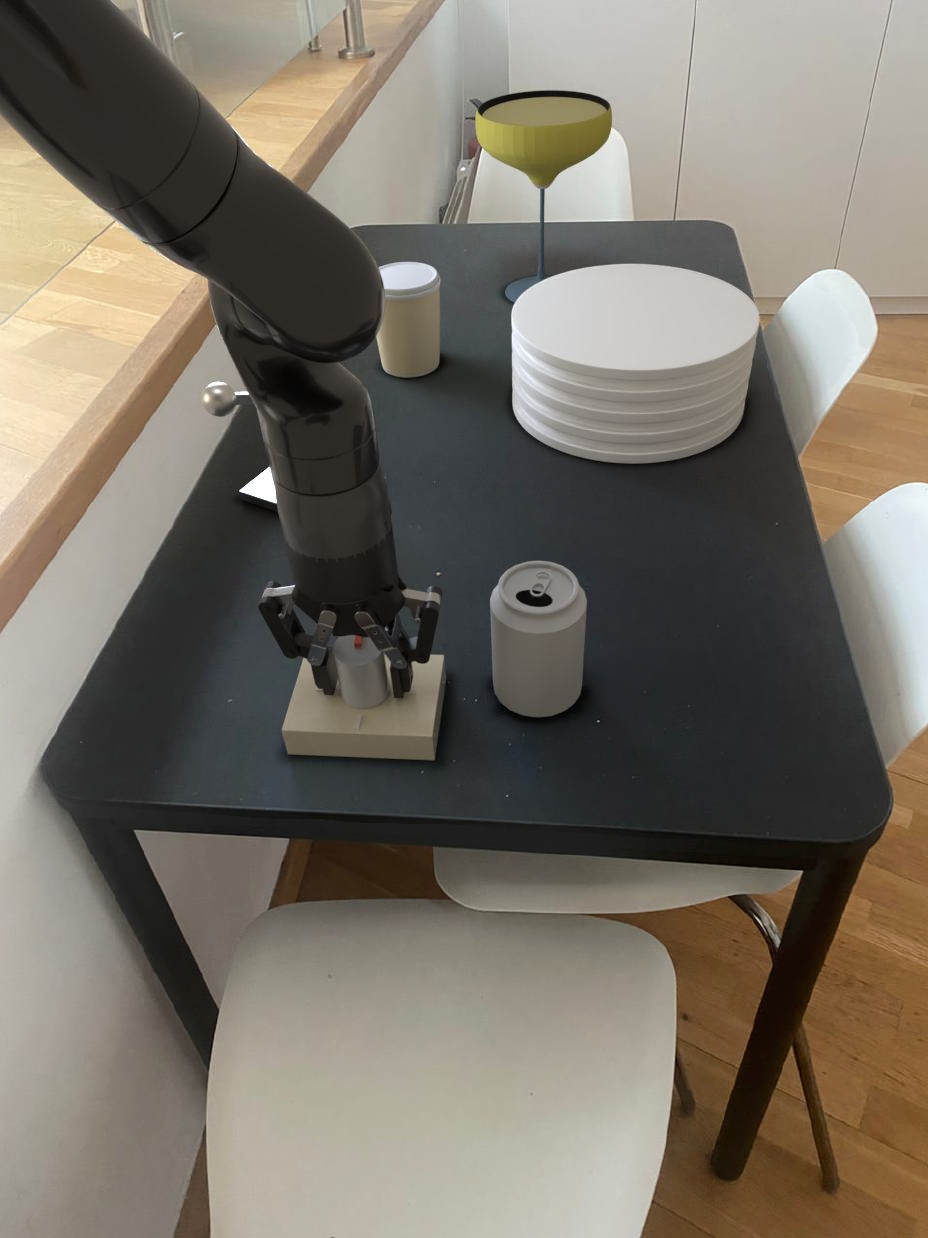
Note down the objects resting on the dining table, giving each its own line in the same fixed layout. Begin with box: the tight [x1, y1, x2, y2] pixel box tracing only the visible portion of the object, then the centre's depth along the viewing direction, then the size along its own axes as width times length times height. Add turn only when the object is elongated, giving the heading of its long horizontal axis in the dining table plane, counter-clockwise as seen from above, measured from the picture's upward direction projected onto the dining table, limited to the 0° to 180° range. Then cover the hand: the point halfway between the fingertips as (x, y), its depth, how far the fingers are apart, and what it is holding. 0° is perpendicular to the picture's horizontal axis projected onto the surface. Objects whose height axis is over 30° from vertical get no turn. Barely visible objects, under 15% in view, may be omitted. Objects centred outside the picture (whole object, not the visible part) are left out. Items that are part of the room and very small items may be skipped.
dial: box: [332, 635, 390, 709], centre depth 73 cm, size 4×4×5 cm
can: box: [489, 560, 588, 718], centre depth 74 cm, size 8×8×12 cm
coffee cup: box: [375, 261, 441, 378], centre depth 119 cm, size 9×9×12 cm
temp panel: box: [281, 653, 447, 761], centre depth 76 cm, size 12×9×3 cm
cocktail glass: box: [474, 89, 613, 304], centre depth 129 cm, size 18×18×25 cm
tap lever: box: [201, 381, 255, 418], centre depth 91 cm, size 13×3×3 cm, turn 150°
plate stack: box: [510, 263, 761, 465], centre depth 109 cm, size 28×28×12 cm
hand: (366, 688), depth 75 cm, fingers open, 5 cm apart
